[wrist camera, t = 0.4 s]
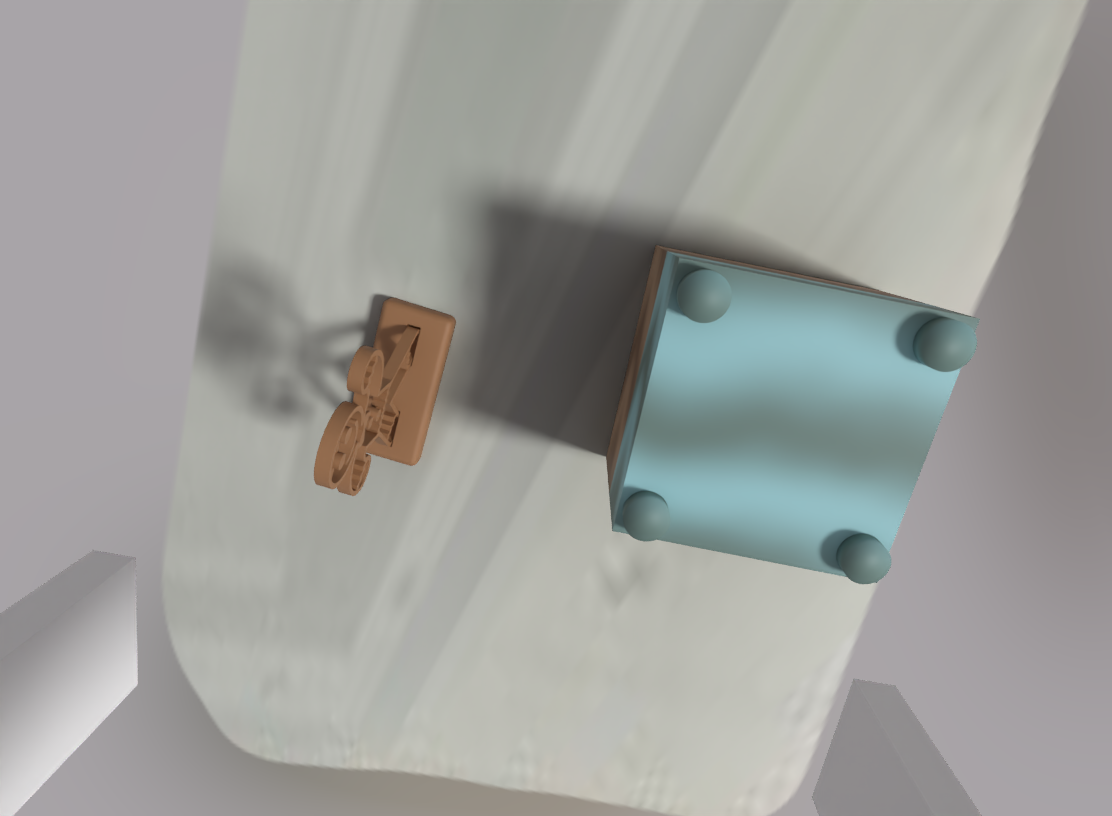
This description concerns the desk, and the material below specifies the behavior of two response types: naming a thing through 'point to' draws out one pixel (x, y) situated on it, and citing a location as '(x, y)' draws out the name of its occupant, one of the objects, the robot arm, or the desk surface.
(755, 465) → the teal and brown block
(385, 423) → the lever handle backplate
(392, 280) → the desk surface
